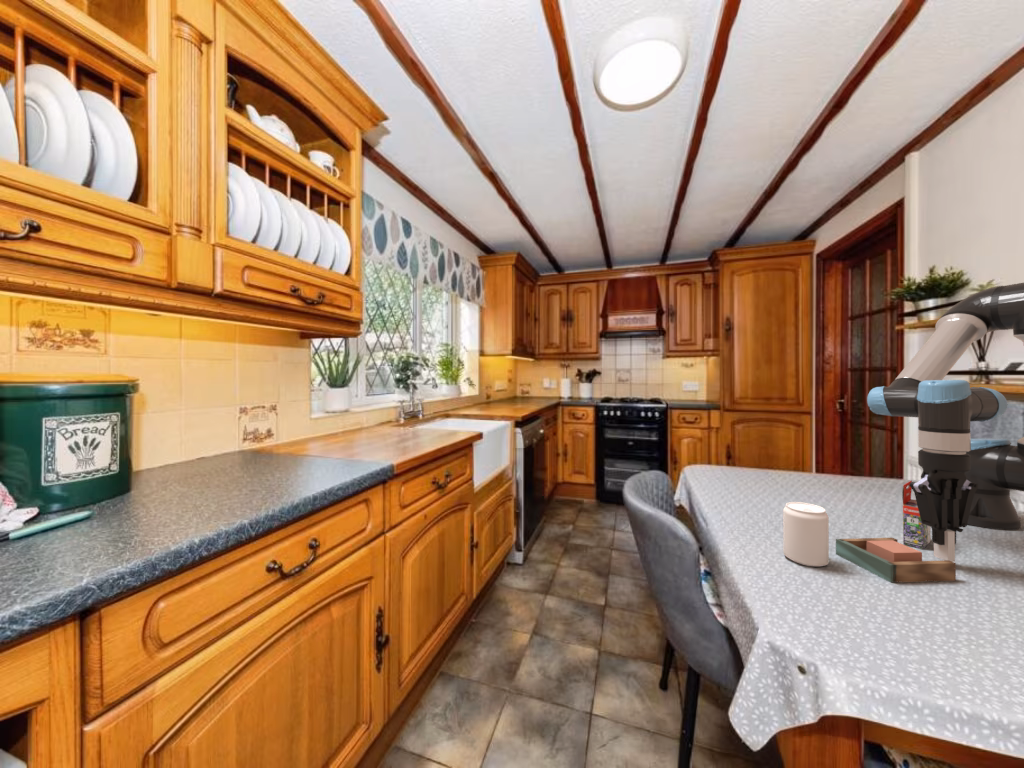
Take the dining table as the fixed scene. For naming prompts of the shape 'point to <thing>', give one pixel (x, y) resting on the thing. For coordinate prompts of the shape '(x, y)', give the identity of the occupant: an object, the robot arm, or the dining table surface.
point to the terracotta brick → (893, 551)
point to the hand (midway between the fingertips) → (944, 558)
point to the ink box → (913, 522)
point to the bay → (894, 563)
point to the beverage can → (806, 534)
